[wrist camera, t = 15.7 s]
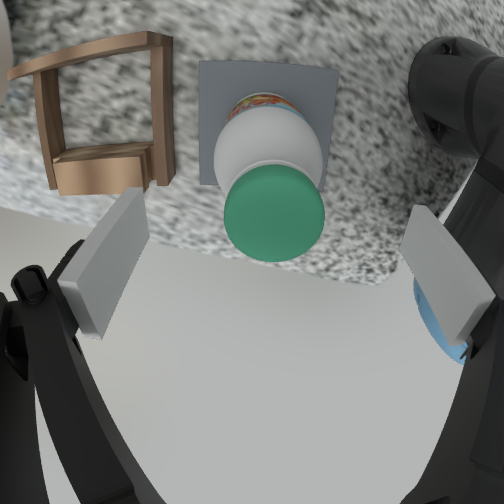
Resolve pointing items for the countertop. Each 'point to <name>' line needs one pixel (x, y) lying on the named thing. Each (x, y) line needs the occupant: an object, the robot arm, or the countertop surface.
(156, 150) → the frame
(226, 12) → the countertop surface
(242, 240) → the milk bottle
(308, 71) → the rubber mat
